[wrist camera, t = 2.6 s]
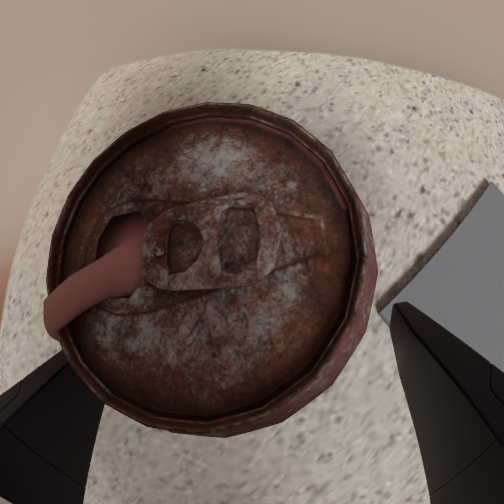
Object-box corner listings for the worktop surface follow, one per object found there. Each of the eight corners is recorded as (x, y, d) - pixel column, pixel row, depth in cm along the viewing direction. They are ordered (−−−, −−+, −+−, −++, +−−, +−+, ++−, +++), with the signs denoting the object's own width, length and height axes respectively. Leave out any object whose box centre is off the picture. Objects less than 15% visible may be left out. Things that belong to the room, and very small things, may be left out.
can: (200, 310, 18) (4, 236, 5) (281, 246, 18) (223, 50, 5) (259, 389, 16) (127, 511, 3) (344, 323, 16) (473, 265, 3)
